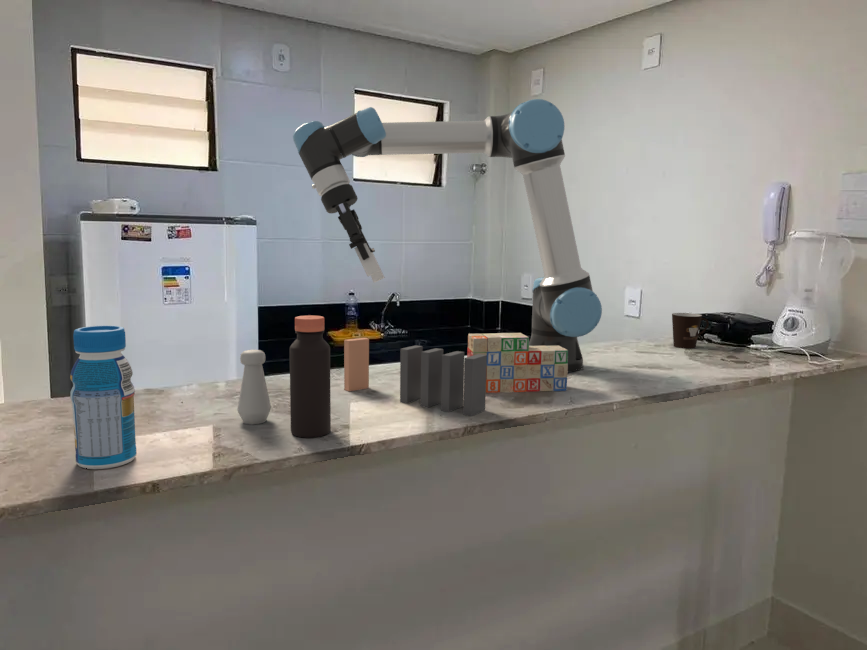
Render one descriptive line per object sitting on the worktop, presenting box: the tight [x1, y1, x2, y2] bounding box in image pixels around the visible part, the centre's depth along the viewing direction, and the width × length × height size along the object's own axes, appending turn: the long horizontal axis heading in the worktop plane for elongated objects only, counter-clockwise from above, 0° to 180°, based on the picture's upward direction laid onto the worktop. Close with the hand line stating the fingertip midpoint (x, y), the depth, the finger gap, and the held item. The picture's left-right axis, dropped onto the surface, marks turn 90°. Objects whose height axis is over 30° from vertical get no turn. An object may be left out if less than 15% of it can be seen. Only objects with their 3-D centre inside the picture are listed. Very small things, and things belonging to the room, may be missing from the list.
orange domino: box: [343, 337, 370, 392], centre depth 145 cm, size 2×5×11 cm, turn 131°
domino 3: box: [440, 350, 465, 413], centre depth 131 cm, size 2×5×11 cm, turn 146°
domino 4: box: [462, 354, 487, 417], centre depth 128 cm, size 2×5×11 cm, turn 146°
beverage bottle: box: [69, 325, 138, 470], centre depth 98 cm, size 8×8×20 cm
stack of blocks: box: [466, 332, 569, 394], centre depth 148 cm, size 21×6×12 cm, turn 98°
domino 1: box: [399, 345, 424, 404], centre depth 136 cm, size 2×5×11 cm, turn 146°
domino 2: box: [420, 347, 444, 408], centre depth 133 cm, size 2×5×11 cm, turn 145°
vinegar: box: [289, 314, 332, 439], centre depth 113 cm, size 7×7×20 cm
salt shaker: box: [237, 349, 272, 426], centre depth 120 cm, size 6×6×13 cm
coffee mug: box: [671, 312, 710, 350], centre depth 204 cm, size 12×9×10 cm
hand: (376, 277), depth 146 cm, fingers open, 13 cm apart
